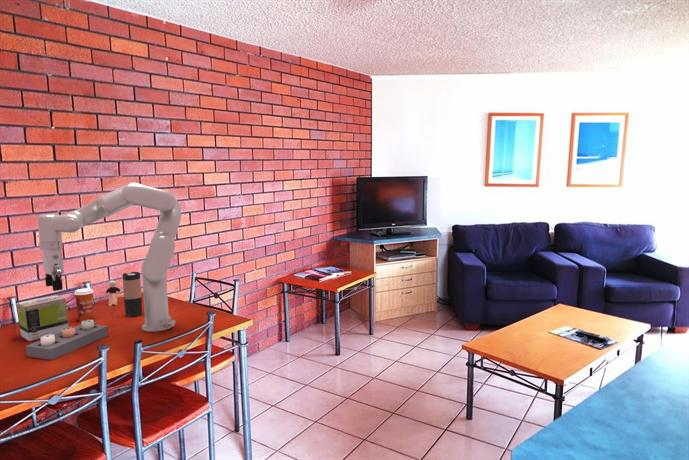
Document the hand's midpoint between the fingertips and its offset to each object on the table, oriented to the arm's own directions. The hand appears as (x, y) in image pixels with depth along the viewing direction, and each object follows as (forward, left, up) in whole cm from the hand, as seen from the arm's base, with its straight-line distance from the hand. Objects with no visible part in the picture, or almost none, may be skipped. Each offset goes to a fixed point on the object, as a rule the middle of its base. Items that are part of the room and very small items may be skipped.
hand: (54, 288), depth 182 cm
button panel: (-9, +3, -22) cm, 24 cm away
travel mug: (-5, -36, -22) cm, 42 cm away
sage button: (-9, -6, -19) cm, 22 cm away
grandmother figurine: (+17, -47, -22) cm, 54 cm away
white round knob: (-9, +12, -19) cm, 24 cm away
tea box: (+12, -4, -22) cm, 25 cm away
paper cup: (+11, -24, -22) cm, 34 cm away
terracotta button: (-9, +3, -19) cm, 21 cm away
